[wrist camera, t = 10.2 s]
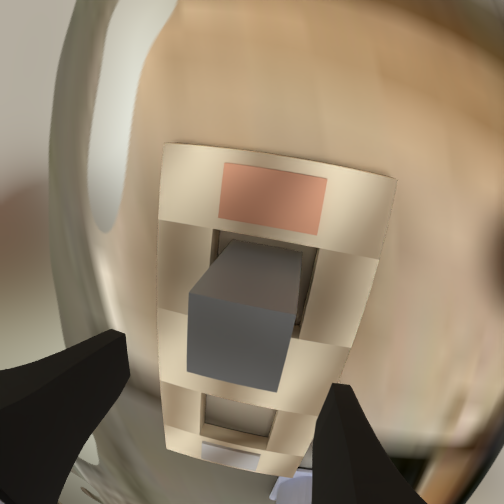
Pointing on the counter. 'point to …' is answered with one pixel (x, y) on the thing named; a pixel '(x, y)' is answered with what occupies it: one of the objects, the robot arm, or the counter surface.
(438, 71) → the counter surface
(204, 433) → the socket board
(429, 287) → the counter surface
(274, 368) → the plug
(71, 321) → the counter surface
